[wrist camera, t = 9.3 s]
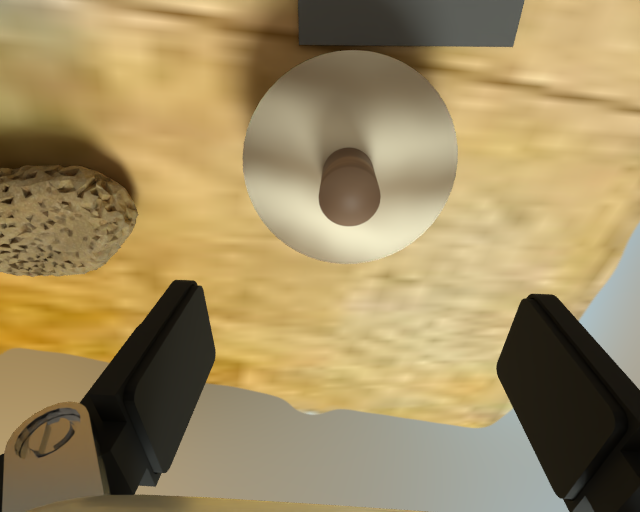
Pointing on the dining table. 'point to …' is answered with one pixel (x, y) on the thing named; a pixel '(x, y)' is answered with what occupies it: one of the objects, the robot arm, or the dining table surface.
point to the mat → (409, 22)
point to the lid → (350, 157)
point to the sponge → (61, 220)
